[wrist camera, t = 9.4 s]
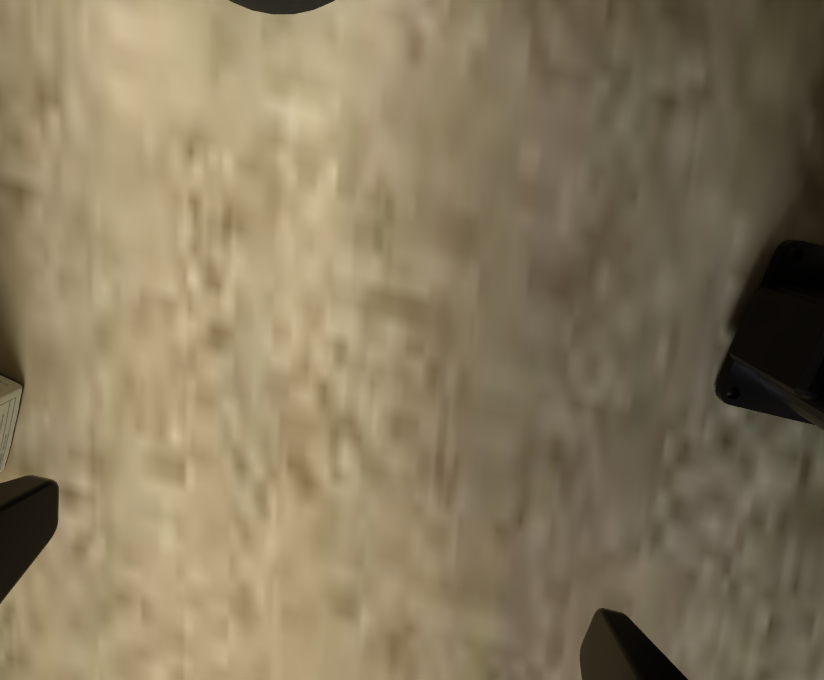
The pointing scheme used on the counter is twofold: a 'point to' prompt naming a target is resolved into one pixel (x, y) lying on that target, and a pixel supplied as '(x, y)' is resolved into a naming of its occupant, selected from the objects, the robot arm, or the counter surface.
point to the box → (8, 415)
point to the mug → (282, 5)
